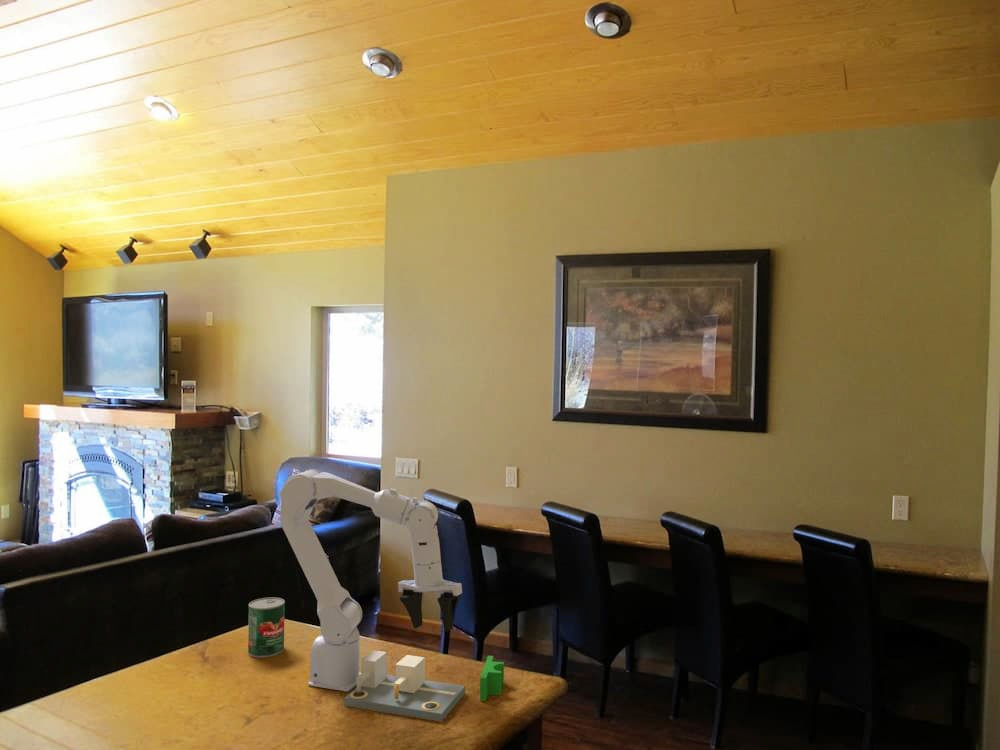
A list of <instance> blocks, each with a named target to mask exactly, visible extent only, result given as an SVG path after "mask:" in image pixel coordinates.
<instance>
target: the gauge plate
mask: <svg viewBox="0 0 1000 750" xmlns="http://www.w3.org/2000/svg"><path fill="white" fill-rule="evenodd" d="M387 655H388V653H387V651H382V650H381V651H380V650H374V649H373V650H372V651H370V652H369V653H368V654H367V655H365V656H364V657H363V658H361V661H360V662H361V663H360V667H361V668H360V673H361V674H360V675H359V676H358V677H356V682H357V685H356V687H354V688H353V689H352V690H351V692H350V693H348V694H347V695H346V696H345V697H344V698H343V703H344V705H343V706H344V707H348V708H355V709H360V708H361V710H366V711H367V710H368V711H374V712H378V713H386V714H390V713H391V715H396V714H397V715H398V716H402V715H403V716H402V717H408V716H409V717H408V718H414V717H416V718H415V719H420V718H422V720H426V719H427V721H432V720H434V721H433V722H437V723H438V722H439V723H442V722H443V721H444V720H445V719H446V718H447V716H448V715H449V714H448V713H450V712H451V711H452V710H453V708H454V707H456V705H457V704H458V703H459V702H460V700H461V699H462V698H463V696H464V695H466V685H460V684H453V683H448V682H440V681H434V680H427V679H425V683H424V684H423V685H422V686H421V687H420V688H419V689H418V690H417V691H416V692H415V693H409V692H402V691H399V699H394V691H395V688H394V683H395V675H394V674H387V670H388V669H387V668H388V667H387V666H388V664H387V662H388V661H387V658H388V657H387ZM443 719H444V720H443Z"/></svg>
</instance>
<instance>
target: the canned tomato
mask: <svg viewBox="0 0 1000 750" xmlns="http://www.w3.org/2000/svg"><path fill="white" fill-rule="evenodd" d="M285 603H286V601H285V599H283V598H281V597H274V596H273V597H262V598H257V599H254V600H252V601H250V602H249V603H248V630H247V631H248V634H247V636H248V640H247V642H248V644H247V648H248V649H247V654H248V656H250V657H252V658H264V659H265V658H269V657H274V656H277V655H279V653H280V654H281V653H282V652H284V650H285V609H286V608H285Z"/></svg>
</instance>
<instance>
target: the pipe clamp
mask: <svg viewBox="0 0 1000 750" xmlns="http://www.w3.org/2000/svg"><path fill="white" fill-rule="evenodd" d="M504 684H505V662H504V661H503V662H502V661H494V655H487V658H486V660H485V664H484V666H483V669H482V673H481V674H480V678H479V701H480V702H486V701H487V697H488V695H497V696H501V695H502V686H504Z"/></svg>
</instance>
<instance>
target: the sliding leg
mask: <svg viewBox="0 0 1000 750" xmlns="http://www.w3.org/2000/svg"><path fill="white" fill-rule="evenodd" d="M394 676H395V683H394V688H395V691H394V699H399V691H402V692H409V693H415V692H416V691H417V690H418V689H419V688H420V687H421V686H422V685H423V684H424V683H425V680H426V657H424V656H418V655H410V654H406V655H405V656H403V658H401V659H399V661H398V662H396V663H395V675H394Z"/></svg>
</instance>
